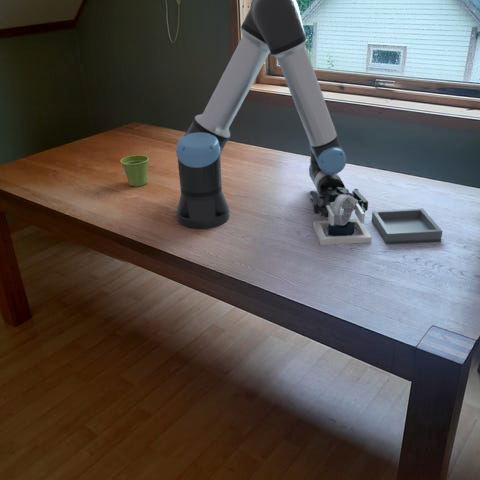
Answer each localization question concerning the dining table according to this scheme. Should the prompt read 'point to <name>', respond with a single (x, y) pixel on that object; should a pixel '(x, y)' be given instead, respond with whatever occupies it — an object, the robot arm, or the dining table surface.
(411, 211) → the tray
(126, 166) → the plant pot
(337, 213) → the watch
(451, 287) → the dining table surface
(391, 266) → the dining table surface
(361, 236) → the white open frame
